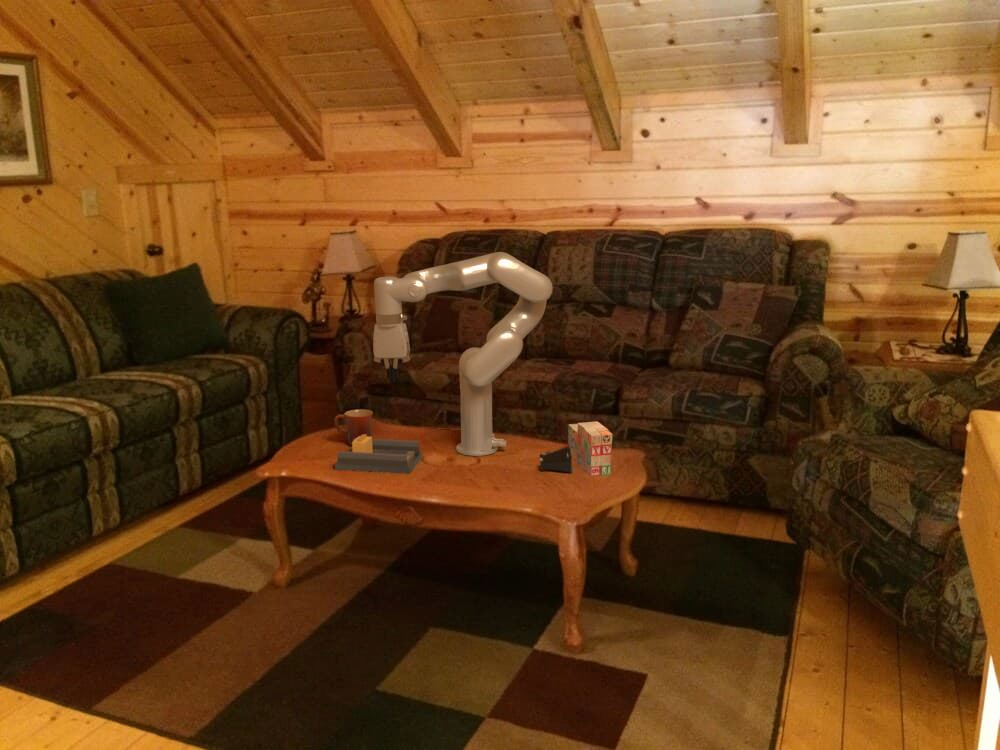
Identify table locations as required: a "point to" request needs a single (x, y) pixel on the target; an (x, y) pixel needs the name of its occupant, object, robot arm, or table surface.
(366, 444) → the cheese wedge
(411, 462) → the panel
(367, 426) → the mug
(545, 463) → the black tapered piece
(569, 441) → the stack of blocks
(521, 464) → the table surface
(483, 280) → the robot arm
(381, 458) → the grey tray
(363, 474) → the table surface
